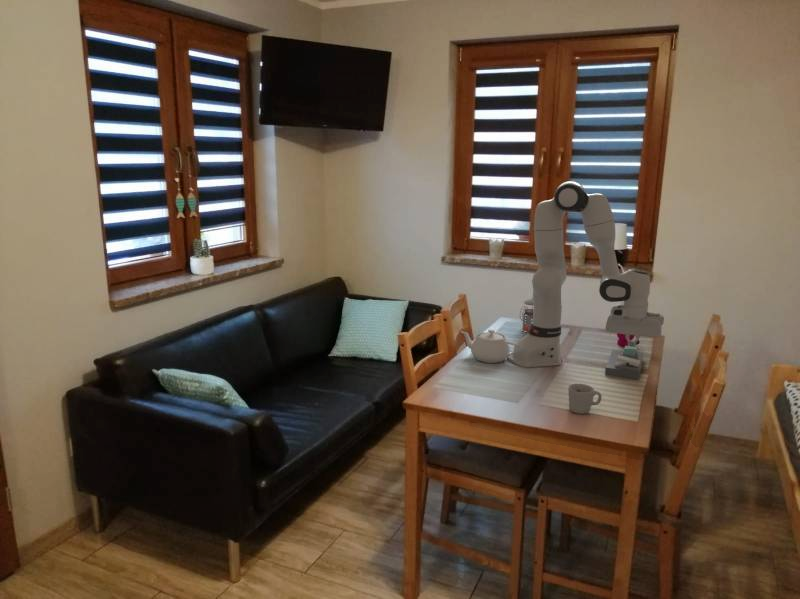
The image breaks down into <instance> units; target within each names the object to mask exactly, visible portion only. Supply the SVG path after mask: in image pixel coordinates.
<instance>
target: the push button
mask: <svg viewBox="0 0 800 599" xmlns="http://www.w3.org/2000/svg"><path fill="white" fill-rule="evenodd" d="M623 350H624V355H630V356H636V354H637V352H638V347H637V346H636V347H633V346H624V348H623Z"/></svg>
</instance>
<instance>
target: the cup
mask: <svg viewBox="0 0 800 599" xmlns="http://www.w3.org/2000/svg"><path fill="white" fill-rule="evenodd" d="M596 395H598V396H597V397H598V399H597V400H596V401H594V397H595V396H596ZM601 401H602V393H601V392H600V391H597V390H595V389H594V387H592V386H591V385H587V384H583V383H572V384H569V386H568V408H569V410H570V411H571V412H573V413H574V414H580V415H585V414H588V413H589V412H590V411H591V408H592V406H598V405H599V404H601Z"/></svg>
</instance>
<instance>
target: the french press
mask: <svg viewBox="0 0 800 599" xmlns="http://www.w3.org/2000/svg"><path fill="white" fill-rule="evenodd" d="M523 303H524V306H522V308H521V309H520V311H519V314H521V312H522V314H521V316H519V318H520V320H521V322H522V327H521V329H522V330H523V331H526V332H528V331H527V330H524V326H525V325H527V326H529V327H530V326H531V324H532V323H533V308H534V301H533V298H531V299H529V298H528V299H526V300H524V301H523ZM526 305H527V306H526ZM528 306H531V308H529V307H528ZM522 310H523V311H522Z"/></svg>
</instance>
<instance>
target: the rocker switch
mask: <svg viewBox="0 0 800 599" xmlns="http://www.w3.org/2000/svg"><path fill="white" fill-rule="evenodd" d="M617 361H618V362H622V363H626V365H627V366H628V365H629V364H630V365H634V366H638V367H639V364H640V360H636V359H632V358H628V357H624V356H620V355H618V358H617Z"/></svg>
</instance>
